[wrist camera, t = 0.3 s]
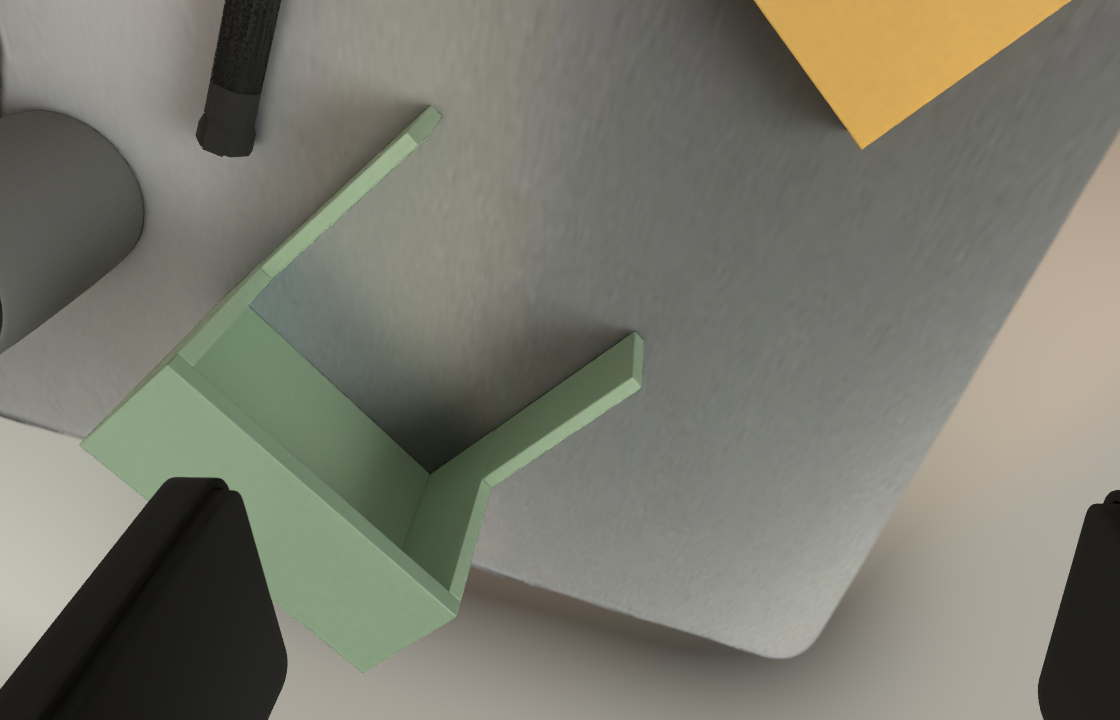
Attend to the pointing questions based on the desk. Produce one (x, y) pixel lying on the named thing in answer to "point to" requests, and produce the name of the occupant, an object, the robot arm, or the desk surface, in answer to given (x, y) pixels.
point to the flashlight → (237, 77)
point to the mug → (58, 216)
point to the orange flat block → (895, 49)
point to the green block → (334, 457)
